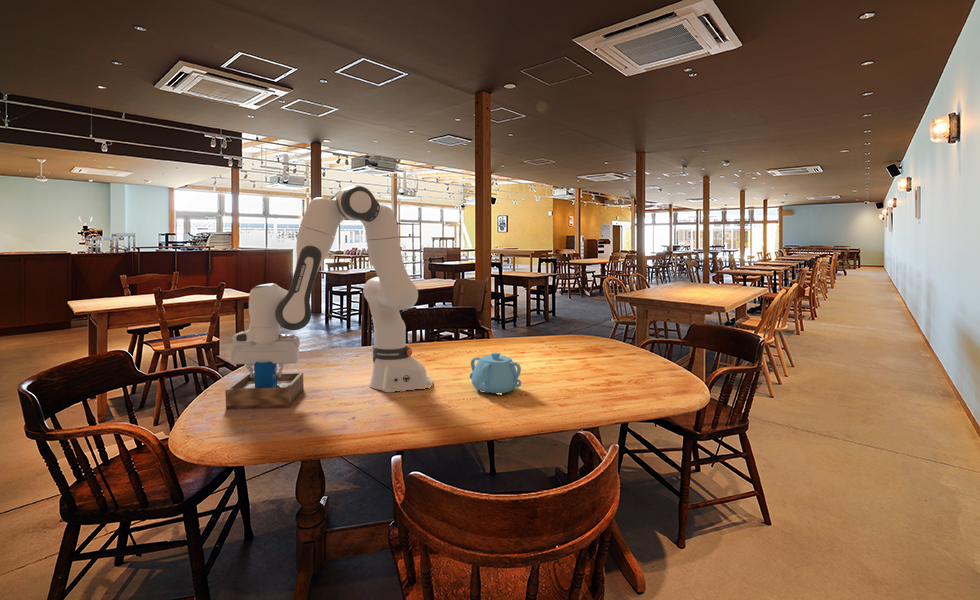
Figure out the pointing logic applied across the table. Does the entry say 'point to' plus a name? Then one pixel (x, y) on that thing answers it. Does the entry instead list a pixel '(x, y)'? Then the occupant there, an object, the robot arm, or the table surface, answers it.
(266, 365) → the beverage can
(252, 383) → the caddy
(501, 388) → the decorative pot
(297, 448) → the table surface
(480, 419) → the table surface
